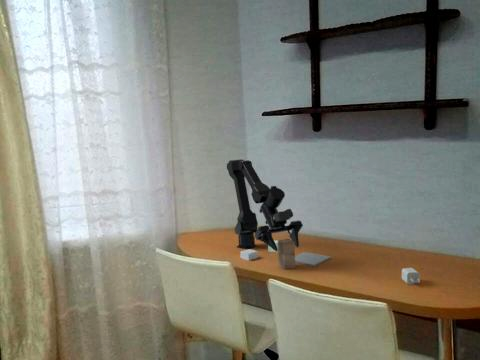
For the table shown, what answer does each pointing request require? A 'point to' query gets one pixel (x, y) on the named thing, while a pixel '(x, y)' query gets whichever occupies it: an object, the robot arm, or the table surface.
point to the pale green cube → (271, 248)
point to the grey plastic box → (249, 254)
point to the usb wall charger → (410, 275)
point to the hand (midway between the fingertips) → (287, 248)
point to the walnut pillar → (286, 253)
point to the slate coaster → (310, 258)
